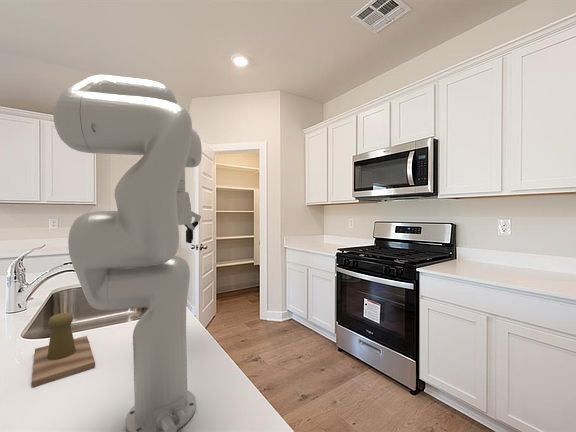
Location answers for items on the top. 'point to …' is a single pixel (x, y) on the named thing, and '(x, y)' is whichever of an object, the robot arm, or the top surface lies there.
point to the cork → (61, 337)
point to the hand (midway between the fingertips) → (173, 244)
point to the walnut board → (62, 363)
